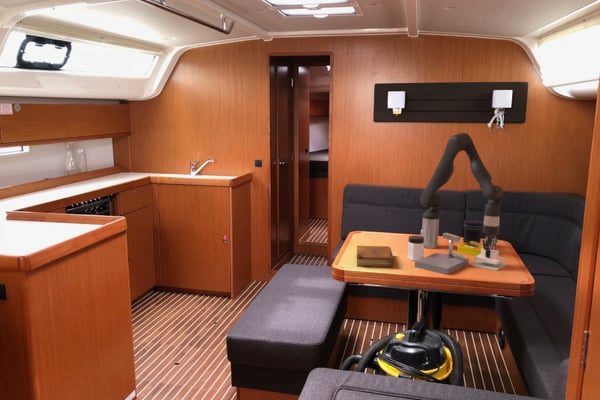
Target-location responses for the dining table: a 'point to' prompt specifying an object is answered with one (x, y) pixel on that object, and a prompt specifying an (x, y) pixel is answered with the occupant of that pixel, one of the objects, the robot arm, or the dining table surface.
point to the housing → (441, 263)
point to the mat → (488, 265)
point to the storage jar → (472, 231)
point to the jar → (415, 248)
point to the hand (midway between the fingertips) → (489, 256)
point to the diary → (374, 256)
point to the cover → (493, 257)
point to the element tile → (470, 248)
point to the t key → (451, 239)
